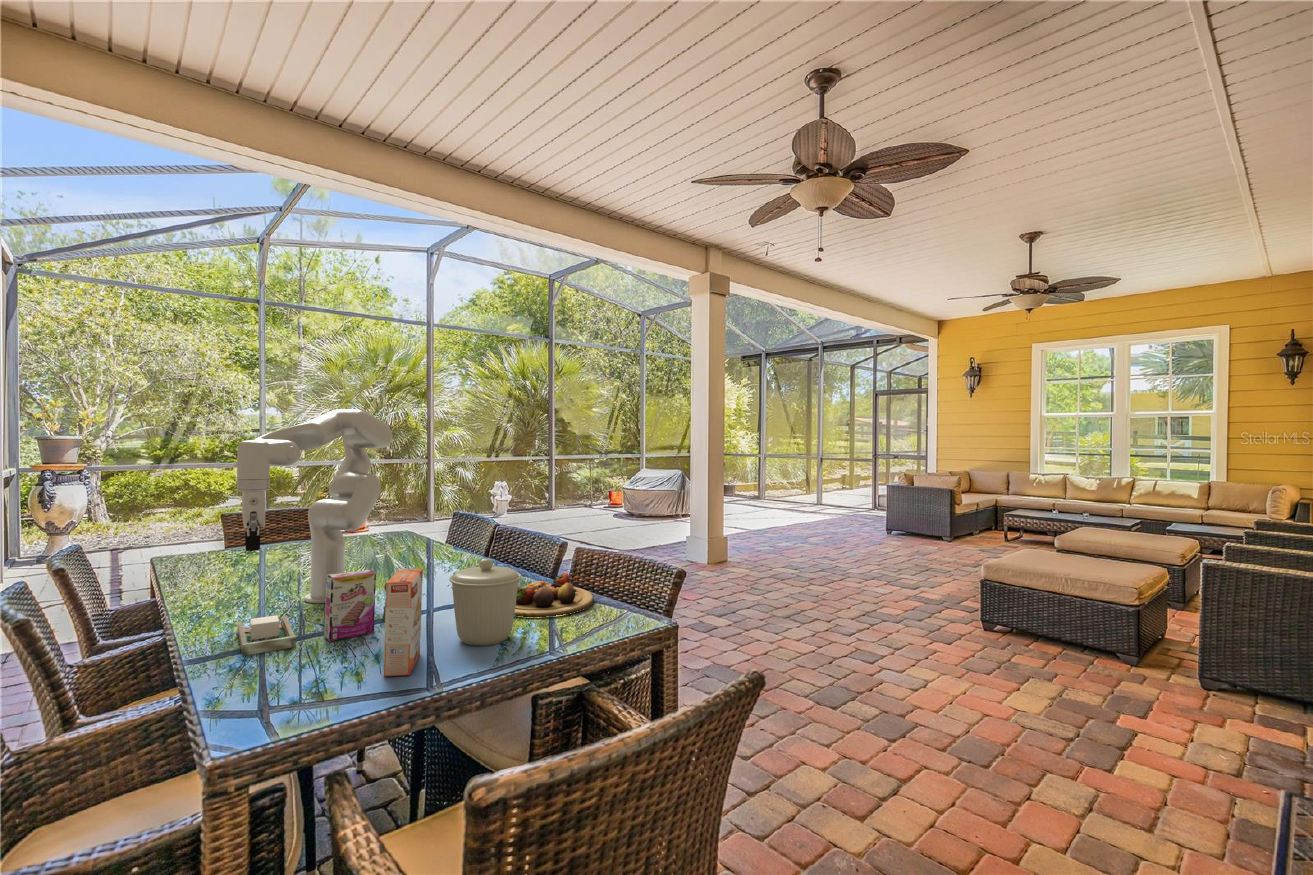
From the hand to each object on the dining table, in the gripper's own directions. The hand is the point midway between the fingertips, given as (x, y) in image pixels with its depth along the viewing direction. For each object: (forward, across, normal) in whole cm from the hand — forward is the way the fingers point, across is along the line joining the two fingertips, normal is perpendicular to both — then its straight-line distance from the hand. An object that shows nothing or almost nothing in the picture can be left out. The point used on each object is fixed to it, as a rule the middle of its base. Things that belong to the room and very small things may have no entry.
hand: (252, 547), depth 168 cm
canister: (+21, -45, -50) cm, 71 cm away
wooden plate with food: (+22, -21, -77) cm, 83 cm away
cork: (+21, -14, -34) cm, 43 cm away
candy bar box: (+21, -24, -21) cm, 38 cm away
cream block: (+21, -12, -3) cm, 24 cm away
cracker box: (+21, -53, -28) cm, 64 cm away
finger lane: (+21, -15, -3) cm, 26 cm away
